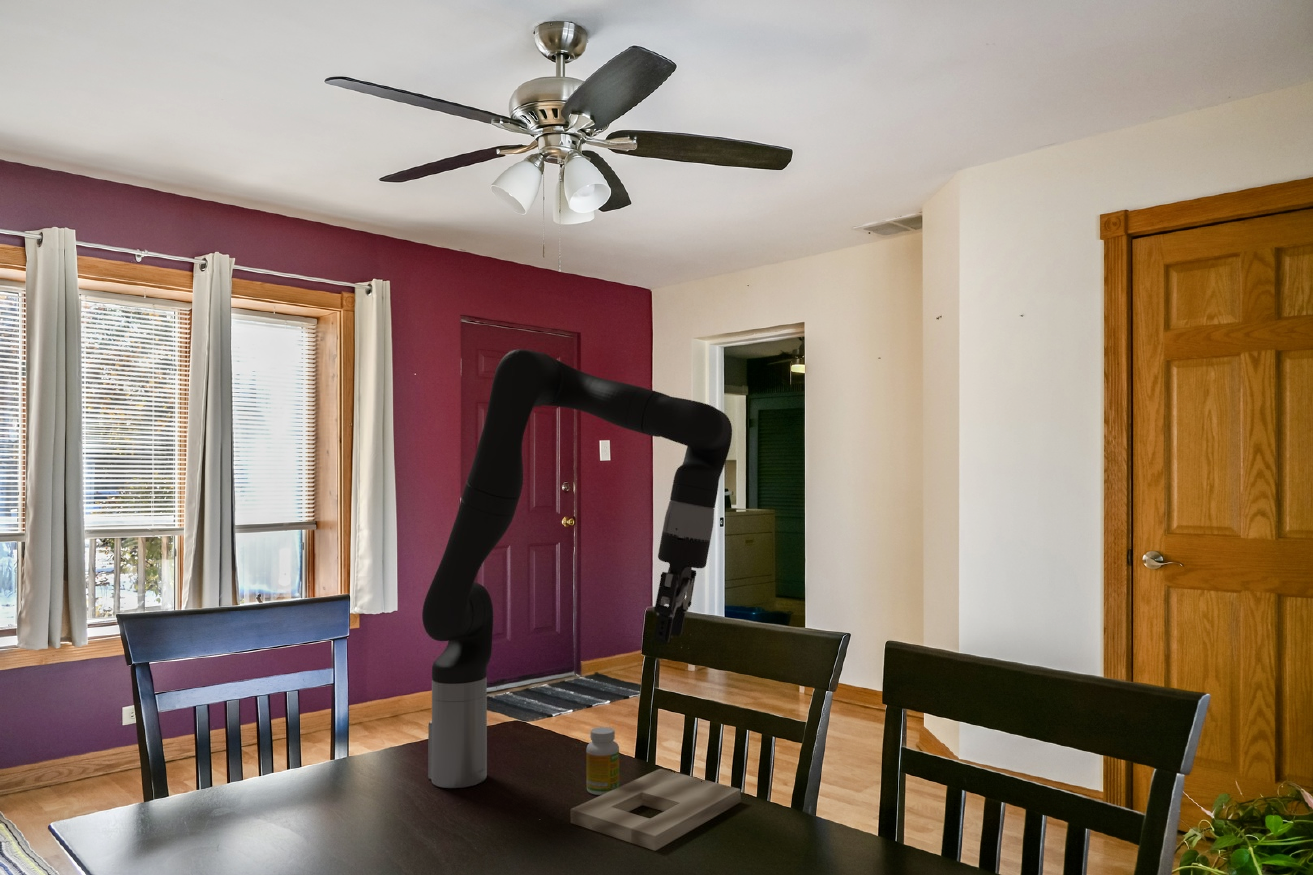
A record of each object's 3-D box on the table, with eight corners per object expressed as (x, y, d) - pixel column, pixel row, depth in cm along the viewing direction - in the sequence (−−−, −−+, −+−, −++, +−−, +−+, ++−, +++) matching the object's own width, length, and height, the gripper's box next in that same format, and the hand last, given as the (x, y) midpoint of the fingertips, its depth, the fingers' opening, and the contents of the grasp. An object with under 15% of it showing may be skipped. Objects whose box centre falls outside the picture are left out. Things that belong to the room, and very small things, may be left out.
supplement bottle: (614, 796, 138) (614, 735, 138) (582, 794, 139) (582, 734, 139) (622, 785, 143) (622, 726, 143) (591, 783, 144) (591, 724, 145)
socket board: (570, 822, 128) (570, 809, 128) (660, 780, 145) (660, 768, 145) (655, 850, 118) (655, 835, 118) (740, 801, 135) (740, 788, 135)
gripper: (673, 528, 139) (655, 627, 138) (652, 529, 125) (631, 639, 125) (718, 537, 137) (700, 638, 136) (701, 538, 124) (681, 650, 123)
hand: (667, 638), depth 130 cm, fingers open, 8 cm apart
